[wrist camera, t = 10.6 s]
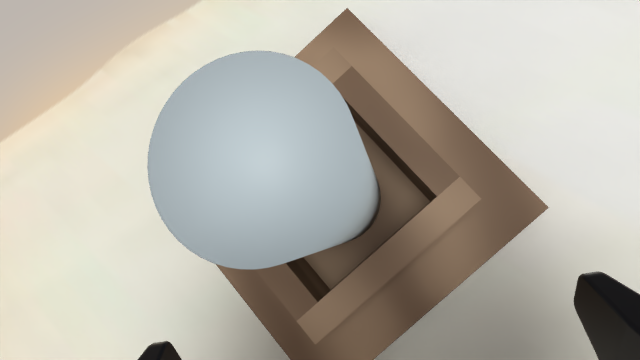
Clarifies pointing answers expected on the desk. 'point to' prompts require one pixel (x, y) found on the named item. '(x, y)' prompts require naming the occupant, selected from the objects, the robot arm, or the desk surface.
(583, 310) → the robot arm
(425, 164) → the cradle jig
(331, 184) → the peg
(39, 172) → the desk surface
